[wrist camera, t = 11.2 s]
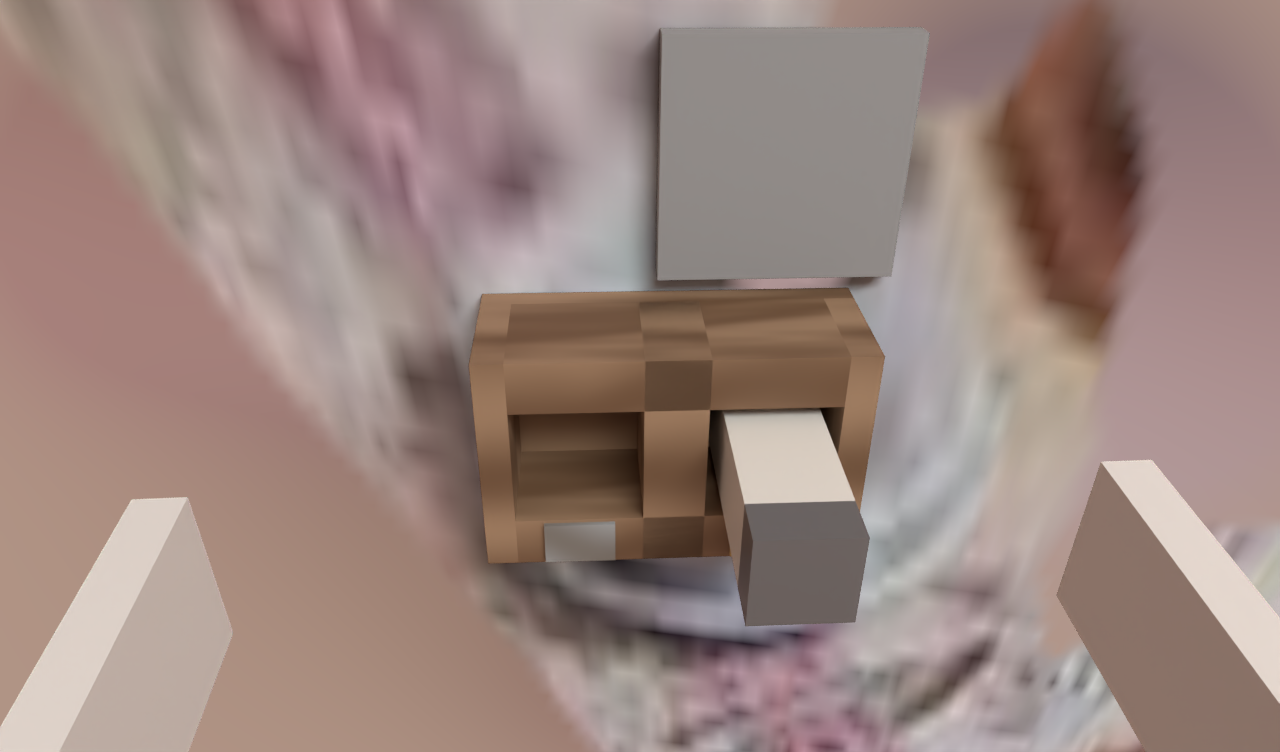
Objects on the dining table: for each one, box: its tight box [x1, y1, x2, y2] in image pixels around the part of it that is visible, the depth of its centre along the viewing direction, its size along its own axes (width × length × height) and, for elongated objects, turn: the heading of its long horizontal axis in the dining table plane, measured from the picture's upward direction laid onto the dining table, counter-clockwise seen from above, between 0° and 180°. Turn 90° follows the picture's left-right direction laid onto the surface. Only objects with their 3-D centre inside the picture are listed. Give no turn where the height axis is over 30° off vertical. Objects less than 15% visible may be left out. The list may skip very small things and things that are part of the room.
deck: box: [656, 27, 930, 280], centre depth 39 cm, size 10×10×1 cm
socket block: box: [469, 288, 885, 563], centre depth 42 cm, size 10×16×6 cm, turn 90°
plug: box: [709, 408, 870, 626], centre depth 39 cm, size 4×4×12 cm
